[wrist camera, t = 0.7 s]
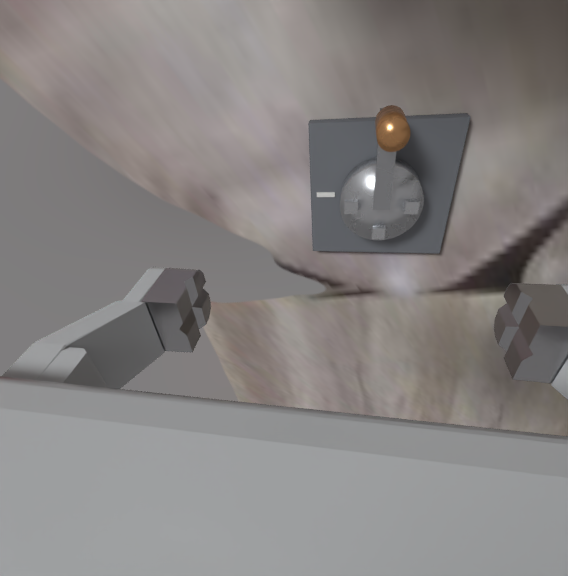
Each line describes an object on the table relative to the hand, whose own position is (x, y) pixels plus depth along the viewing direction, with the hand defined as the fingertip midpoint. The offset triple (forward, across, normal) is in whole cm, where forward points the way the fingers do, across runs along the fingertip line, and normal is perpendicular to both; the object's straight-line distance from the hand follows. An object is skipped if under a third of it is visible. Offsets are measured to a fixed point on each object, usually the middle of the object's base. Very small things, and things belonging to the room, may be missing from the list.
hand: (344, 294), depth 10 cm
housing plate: (+39, -4, +13) cm, 42 cm away
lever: (+37, -4, +10) cm, 39 cm away
